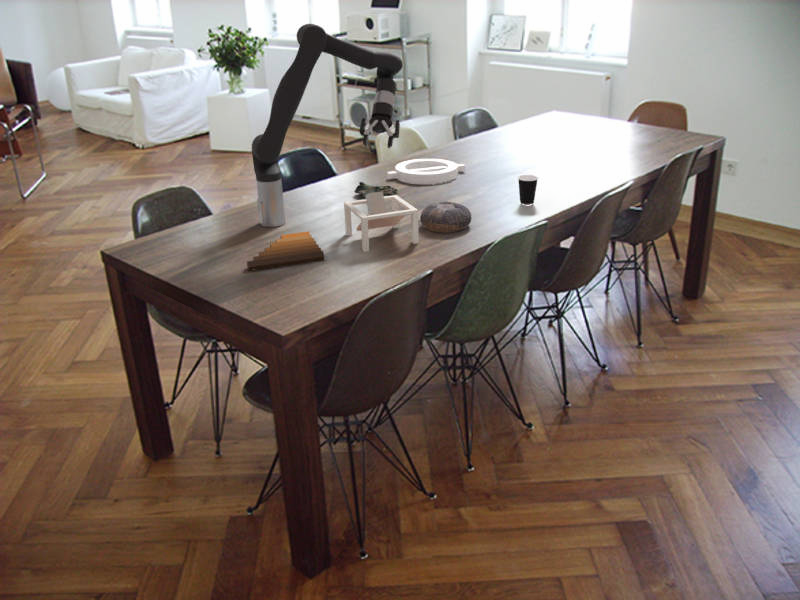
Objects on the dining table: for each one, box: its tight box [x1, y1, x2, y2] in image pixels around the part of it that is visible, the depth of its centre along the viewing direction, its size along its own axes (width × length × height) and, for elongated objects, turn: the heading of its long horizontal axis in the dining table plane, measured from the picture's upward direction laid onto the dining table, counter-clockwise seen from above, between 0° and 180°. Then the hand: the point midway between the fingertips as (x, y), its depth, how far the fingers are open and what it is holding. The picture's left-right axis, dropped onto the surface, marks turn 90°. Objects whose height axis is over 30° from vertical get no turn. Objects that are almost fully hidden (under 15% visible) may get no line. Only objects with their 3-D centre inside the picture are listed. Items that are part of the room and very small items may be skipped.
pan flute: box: [246, 231, 325, 271], centre depth 263 cm, size 25×3×25 cm
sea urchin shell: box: [419, 200, 472, 234], centre depth 284 cm, size 19×19×10 cm
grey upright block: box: [365, 191, 387, 215], centre depth 275 cm, size 5×5×10 cm
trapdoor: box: [356, 208, 408, 232], centre depth 271 cm, size 15×15×1 cm
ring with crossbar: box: [386, 158, 466, 185], centre depth 349 cm, size 28×28×5 cm
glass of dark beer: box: [517, 174, 539, 205], centre depth 305 cm, size 8×8×11 cm
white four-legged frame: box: [343, 194, 419, 253], centre depth 272 cm, size 20×20×12 cm
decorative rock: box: [353, 181, 399, 200], centre depth 325 cm, size 19×6×15 cm
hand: (377, 146), depth 279 cm, fingers open, 8 cm apart
